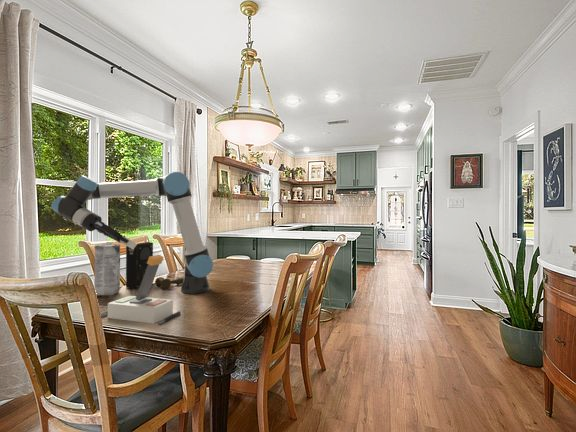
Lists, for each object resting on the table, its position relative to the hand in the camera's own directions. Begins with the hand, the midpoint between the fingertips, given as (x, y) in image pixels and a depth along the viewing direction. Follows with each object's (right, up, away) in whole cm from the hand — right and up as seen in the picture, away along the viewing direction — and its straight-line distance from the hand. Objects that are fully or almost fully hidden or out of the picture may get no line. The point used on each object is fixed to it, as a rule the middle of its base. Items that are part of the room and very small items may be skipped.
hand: (134, 246), depth 137 cm
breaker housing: (+6, -28, -7) cm, 30 cm away
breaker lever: (+6, -21, -7) cm, 23 cm away
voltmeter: (-19, -28, +45) cm, 56 cm away
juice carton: (-28, -28, +27) cm, 47 cm away
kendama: (-2, -28, +44) cm, 52 cm away
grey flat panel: (+6, -28, -7) cm, 30 cm away
